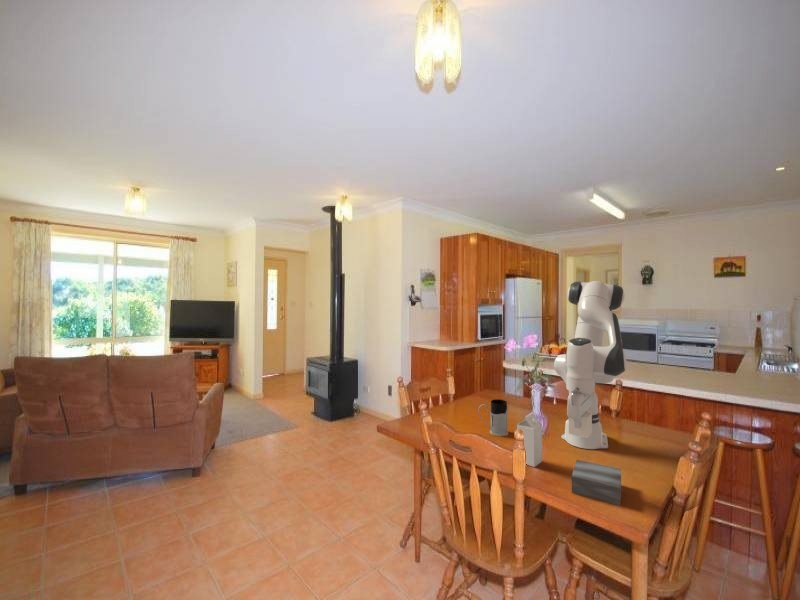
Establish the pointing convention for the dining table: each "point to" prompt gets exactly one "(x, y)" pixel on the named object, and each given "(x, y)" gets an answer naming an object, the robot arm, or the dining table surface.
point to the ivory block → (582, 426)
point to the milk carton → (532, 439)
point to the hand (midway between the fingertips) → (580, 424)
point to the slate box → (597, 481)
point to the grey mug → (498, 418)
